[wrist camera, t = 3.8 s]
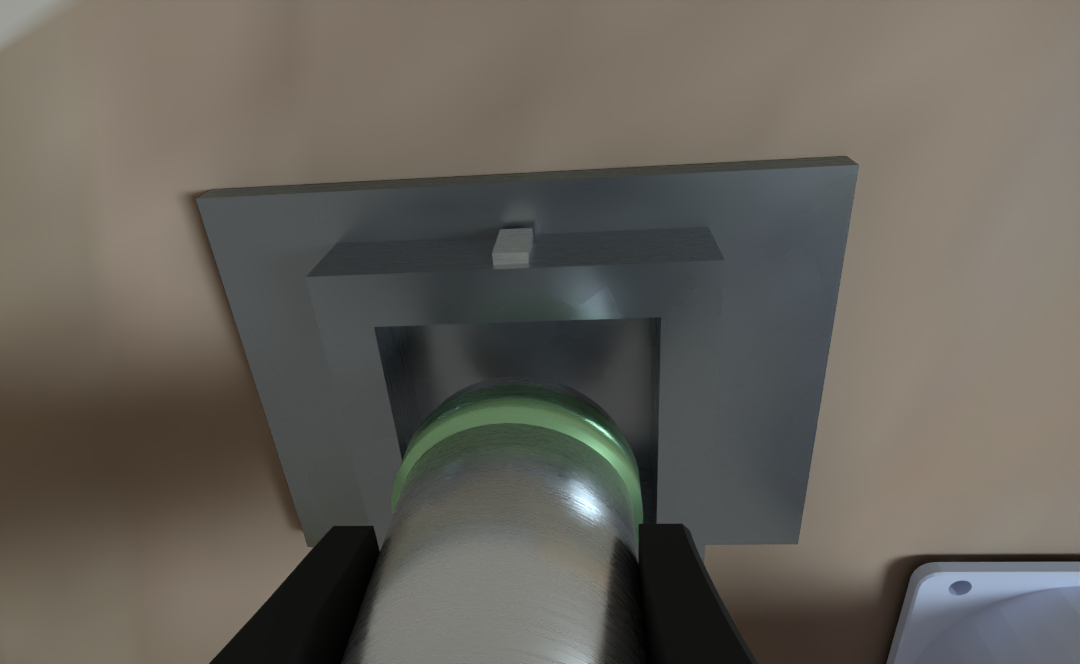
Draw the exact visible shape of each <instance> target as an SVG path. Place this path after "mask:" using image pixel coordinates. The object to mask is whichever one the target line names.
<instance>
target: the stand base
mask: <svg viewBox="0 0 1080 664" xmlns="http://www.w3.org/2000/svg"><path fill="white" fill-rule="evenodd" d="M858 168H859V164H857V163H856V162H854V161H853V160H851V159H850V158H848V157H847V156H843V157H824V158H805V159H786V160H767V161H748V162H729V163H710V164H691V165H672V166H652V167H633V168H614V169H595V170H576V171H557V172H538V173H519V174H500V175H481V176H462V177H442V178H423V179H404V180H385V181H366V182H347V183H328V184H309V185H290V186H271V187H252V188H232V189H213V190H210V191H208V192H206V193H205V194H203V195H201V196H199V197H198V198H196V202H197V205H198V208H199V211H200V214H201V217H202V220H203V223H204V227H205V230H206V233H207V236H208V239H209V242H210V245H211V248H212V251H213V254H214V257H215V261H216V264H217V267H218V270H219V273H220V276H221V279H222V282H223V285H224V288H225V292H226V295H227V298H228V301H229V304H230V307H231V310H232V313H233V316H234V319H235V323H236V326H237V329H238V332H239V335H240V338H241V341H242V344H243V347H244V350H245V354H246V357H247V360H248V363H249V366H250V369H251V372H252V375H253V378H254V381H255V385H256V388H257V391H258V394H259V397H260V400H261V403H262V406H263V409H264V412H265V416H266V419H267V422H268V425H269V428H270V431H271V434H272V437H273V440H274V443H275V447H276V450H277V453H278V456H279V459H280V462H281V465H282V468H283V471H284V474H285V478H286V481H287V484H288V487H289V490H290V493H291V496H292V499H293V502H294V505H295V509H296V512H297V515H298V518H299V521H300V524H301V527H302V530H303V533H304V536H305V539H306V543H307V546H308V547H315V545H316V544H317V543H318V542H319V541H320V540H321V539H322V538H323V537H324V535H325V534H326V533H327V532H328V531H329V530H330V529H331V528H332V527H333V526H374V530H375V534H376V538H377V542H378V546H379V550H381V547H382V544H383V542H384V539H385V536H386V533H387V530H388V527H389V525H390V522H391V519H392V516H393V514H392V507H391V506H392V491H393V486H394V482H395V479H396V476H397V474H398V471H399V468H400V466H401V463H402V460H403V458H404V455H405V452H406V450H407V447H408V445H409V442H410V440H411V438H412V436H413V434H414V433H415V431H416V430H417V428H418V427H419V426H420V424H421V423H422V422H423V421H424V420H425V419H426V418H427V417H428V416H429V415H430V414H431V413H432V412H434V411H435V410H436V409H437V408H438V406H439V405H440V404H442V403H443V402H444V401H445V400H446V399H447V398H449V397H450V396H452V395H453V394H455V393H456V392H458V391H459V390H462V389H464V388H466V387H468V386H470V385H472V384H475V383H479V382H482V381H485V380H489V379H494V378H500V377H512V376H518V377H533V378H540V379H546V380H550V381H553V382H557V383H560V384H563V385H565V386H568V387H571V388H573V389H575V390H577V391H579V392H580V393H582V394H584V395H586V396H587V397H589V398H590V399H592V400H593V401H594V402H596V403H597V404H598V405H599V406H600V407H601V408H603V409H604V410H605V411H606V412H607V413H608V415H609V416H610V417H611V418H612V419H613V420H614V422H615V424H616V425H617V427H618V428H619V430H620V432H621V433H622V435H623V436H624V438H625V439H626V441H627V442H628V444H629V445H630V447H631V449H632V452H633V454H634V456H635V459H636V463H637V467H638V471H639V479H640V488H641V497H642V507H643V524H681V523H682V524H683V525H684V526H686V527H687V528H688V529H689V530H690V532H691V535H692V538H693V540H694V543H695V545H696V548H697V550H698V552H699V555H700V557H701V559H702V561H703V564H704V553H705V545H738V544H798V540H799V534H800V527H801V521H802V515H803V509H804V503H805V496H806V490H807V484H808V478H809V472H810V465H811V459H812V453H813V447H814V441H815V434H816V428H817V422H818V416H819V410H820V403H821V397H822V391H823V385H824V379H825V372H826V366H827V360H828V354H829V348H830V341H831V335H832V329H833V323H834V317H835V310H836V304H837V298H838V292H839V286H840V279H841V273H842V267H843V261H844V255H845V248H846V242H847V236H848V230H849V224H850V217H851V211H852V205H853V199H854V193H855V186H856V180H857V174H858ZM637 555H638V544H637Z"/></svg>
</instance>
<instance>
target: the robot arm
mask: <svg viewBox="0 0 1080 664" xmlns="http://www.w3.org/2000/svg"><path fill="white" fill-rule="evenodd" d="M379 553H380V550H379V546H378V542H377V538H376V534H375V530H374V526H333V527H332V528H331V529H330V530H329V531H328V532H327V533H326V534H325V535H324V537H323V538H322V539H321V540H320V541H319V542H318V543H317V544H316V545H315V547H314V548H313V549H312V550H311V551H310V552H309V553H308V555H307V556H306V557H305V558H304V559H303V560H302V561H301V563H300V564H299V565H298V566H297V567H296V568H295V569H294V571H293V572H292V573H291V574H290V575H289V576H288V577H287V579H286V580H285V581H284V582H283V583H282V584H281V585H280V586H279V588H278V589H277V590H276V591H275V592H274V593H273V594H272V596H271V597H270V598H269V599H268V600H267V601H266V602H265V603H264V605H263V606H262V607H261V608H260V609H259V610H258V611H257V612H256V613H255V614H254V616H253V617H252V618H251V619H250V620H249V621H248V622H247V623H246V624H245V625H244V626H243V628H242V629H241V630H240V631H239V632H238V633H237V634H236V635H235V636H234V637H233V638H232V639H231V641H230V642H229V643H228V644H227V645H226V646H225V647H224V648H223V649H222V650H221V651H220V653H219V654H218V655H217V656H216V657H215V658H214V659H213V660H212V661H211V662H210V663H209V664H341V661H342V658H343V655H344V653H345V650H346V647H347V644H348V641H349V638H350V636H351V633H352V630H353V627H354V624H355V621H356V618H357V616H358V613H359V610H360V607H361V604H362V601H363V599H364V596H365V593H366V590H367V587H368V584H369V581H370V579H371V576H372V573H373V570H374V567H375V564H376V562H377V559H378V556H379ZM638 566H639V576H640V587H641V598H642V608H643V619H644V630H645V640H646V651H647V662H648V664H758V663H757V662H756V660H755V658H754V656H753V655H752V653H751V651H750V650H749V648H748V646H747V645H746V643H745V641H744V639H743V638H742V636H741V634H740V633H739V631H738V629H737V628H736V626H735V624H734V622H733V620H732V618H731V617H730V615H729V613H728V611H727V609H726V608H725V606H724V604H723V602H722V600H721V598H720V596H719V594H718V592H717V590H716V588H715V586H714V584H713V582H712V580H711V578H710V576H709V574H708V572H707V570H706V568H705V566H704V564H703V561H702V559H701V557H700V555H699V552H698V550H697V548H696V545H695V543H694V540H693V538H692V535H691V532H690V530H689V529H688V528H687V527H686V526H684V525H683V524H682V523H681V524H639V527H638ZM886 664H1080V562H932V563H926V564H924V565H921V566H920V567H918V568H917V569H916V570H915V571H914V572H913V574H912V576H911V578H910V581H909V585H908V589H907V592H906V596H905V599H904V603H903V606H902V610H901V613H900V617H899V620H898V624H897V628H896V631H895V635H894V638H893V642H892V645H891V649H890V652H889V656H888V660H887V663H886Z"/></svg>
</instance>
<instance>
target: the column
mask: <svg viewBox="0 0 1080 664" xmlns="http://www.w3.org/2000/svg"><path fill="white" fill-rule="evenodd" d="M391 507H392V514H393V516H392V519H391V522H390V525H389V527H388V530H387V533H386V536H385V539H384V542H383V544H382V547H381V550H380V553H379V556H378V559H377V562H376V564H375V567H374V570H373V573H372V576H371V579H370V581H369V584H368V587H367V590H366V593H365V596H364V599H363V601H362V604H361V607H360V610H359V613H358V616H357V618H356V621H355V624H354V627H353V630H352V633H351V636H350V638H349V641H348V644H347V647H346V650H345V653H344V655H343V658H342V661H341V664H648V662H647V651H646V640H645V630H644V619H643V608H642V598H641V587H640V576H639V566H638V555H637V544H638V527H639V524H643V507H642V497H641V488H640V479H639V471H638V467H637V463H636V459H635V456H634V454H633V452H632V449H631V447H630V445H629V444H628V442H627V441H626V439H625V438H624V436H623V435H622V433H621V432H620V430H619V428H618V427H617V425H616V424H615V422H614V420H613V419H612V418H611V417H610V416H609V415H608V413H607V412H606V411H605V410H604V409H603V408H601V407H600V406H599V405H598V404H597V403H596V402H594V401H593V400H592V399H590V398H589V397H587V396H586V395H584V394H582V393H580V392H579V391H577V390H575V389H573V388H571V387H568V386H565V385H563V384H560V383H557V382H553V381H550V380H546V379H540V378H533V377H518V376H512V377H500V378H494V379H489V380H485V381H482V382H479V383H475V384H472V385H470V386H468V387H466V388H464V389H462V390H459V391H458V392H456V393H455V394H453V395H452V396H450V397H449V398H447V399H446V400H445V401H444V402H443V403H442V404H440V405H439V406H438V408H437V409H436V410H435V411H434V412H432V413H431V414H430V415H429V416H428V417H427V418H426V419H425V420H424V421H423V422H422V423H421V424H420V426H419V427H418V428H417V430H416V431H415V433H414V434H413V436H412V438H411V440H410V442H409V445H408V447H407V450H406V452H405V455H404V458H403V460H402V463H401V466H400V468H399V471H398V474H397V476H396V479H395V482H394V486H393V491H392V506H391Z"/></svg>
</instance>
